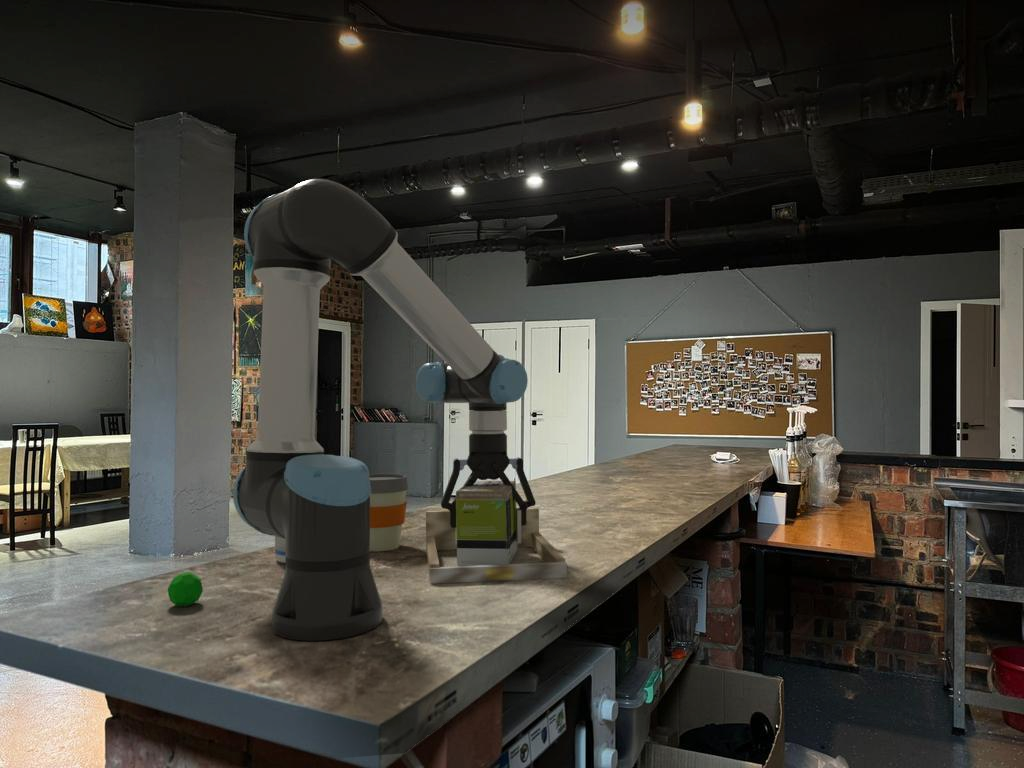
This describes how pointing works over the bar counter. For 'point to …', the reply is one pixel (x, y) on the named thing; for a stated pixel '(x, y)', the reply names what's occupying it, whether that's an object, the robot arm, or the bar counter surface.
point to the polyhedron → (185, 589)
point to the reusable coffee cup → (387, 510)
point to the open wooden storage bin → (445, 539)
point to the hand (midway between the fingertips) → (488, 543)
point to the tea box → (485, 524)
